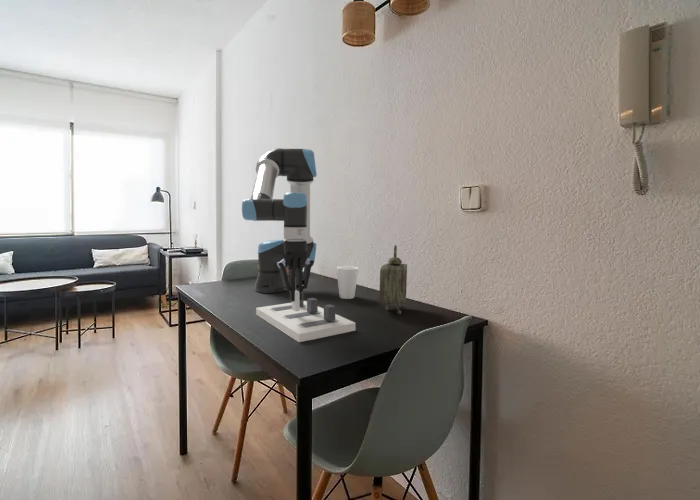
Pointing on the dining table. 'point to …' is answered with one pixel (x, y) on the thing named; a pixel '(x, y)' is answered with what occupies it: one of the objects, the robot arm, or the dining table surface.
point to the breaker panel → (303, 322)
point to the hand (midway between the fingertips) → (295, 310)
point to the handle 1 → (301, 300)
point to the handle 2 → (329, 312)
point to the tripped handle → (312, 305)
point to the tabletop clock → (393, 282)
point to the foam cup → (347, 281)
